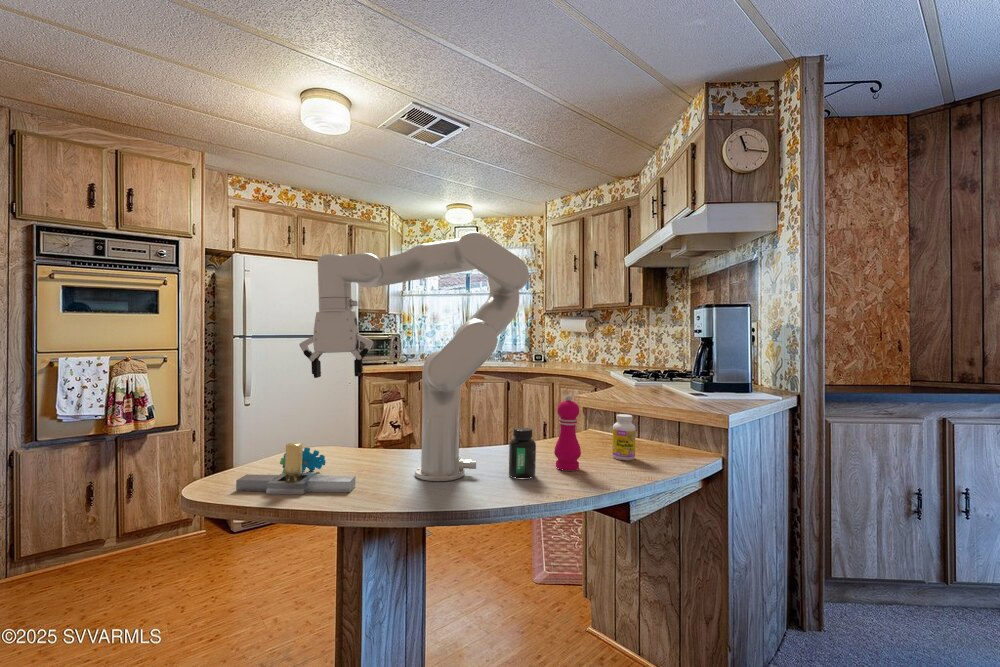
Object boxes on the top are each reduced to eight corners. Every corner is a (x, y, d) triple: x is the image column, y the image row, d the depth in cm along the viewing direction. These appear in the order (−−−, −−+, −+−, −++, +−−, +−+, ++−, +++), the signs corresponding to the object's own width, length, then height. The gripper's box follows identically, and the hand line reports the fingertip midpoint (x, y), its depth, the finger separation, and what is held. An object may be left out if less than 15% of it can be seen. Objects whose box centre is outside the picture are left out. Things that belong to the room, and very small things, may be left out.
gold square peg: (303, 486, 108) (305, 442, 108) (297, 491, 105) (298, 446, 105) (288, 485, 108) (289, 442, 108) (281, 490, 105) (283, 446, 105)
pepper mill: (584, 467, 130) (586, 394, 130) (574, 473, 123) (575, 397, 124) (560, 463, 133) (562, 392, 134) (549, 468, 127) (550, 395, 128)
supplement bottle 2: (612, 460, 138) (613, 416, 138) (611, 454, 145) (612, 413, 145) (636, 461, 137) (637, 417, 137) (633, 456, 144) (634, 414, 144)
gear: (332, 464, 122) (316, 442, 115) (327, 485, 117) (310, 464, 110) (292, 468, 122) (273, 447, 116) (285, 489, 118) (265, 468, 111)
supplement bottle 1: (524, 481, 115) (525, 432, 116) (503, 475, 120) (504, 428, 120) (540, 476, 120) (541, 429, 121) (519, 470, 125) (520, 425, 125)
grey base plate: (357, 483, 111) (357, 473, 111) (347, 495, 103) (347, 484, 103) (250, 482, 110) (250, 472, 110) (231, 493, 102) (231, 482, 102)
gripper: (374, 306, 118) (376, 374, 118) (304, 308, 117) (306, 376, 117) (368, 304, 111) (370, 376, 110) (293, 306, 110) (295, 379, 110)
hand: (337, 376), depth 114 cm, fingers open, 9 cm apart
